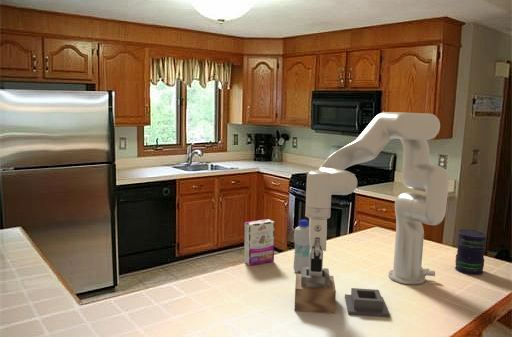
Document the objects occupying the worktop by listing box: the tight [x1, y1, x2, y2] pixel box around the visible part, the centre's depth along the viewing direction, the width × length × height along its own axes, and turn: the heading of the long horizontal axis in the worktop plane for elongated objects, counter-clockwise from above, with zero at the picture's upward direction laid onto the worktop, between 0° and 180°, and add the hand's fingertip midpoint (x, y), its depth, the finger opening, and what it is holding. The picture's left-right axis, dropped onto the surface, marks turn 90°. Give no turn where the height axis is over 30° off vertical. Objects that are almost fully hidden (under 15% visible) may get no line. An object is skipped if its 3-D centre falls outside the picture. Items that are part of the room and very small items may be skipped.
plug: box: [309, 250, 324, 276], centre depth 134 cm, size 4×4×12 cm
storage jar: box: [454, 229, 487, 276], centre depth 166 cm, size 10×10×15 cm
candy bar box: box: [243, 218, 275, 266], centre depth 170 cm, size 11×5×16 cm, turn 117°
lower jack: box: [344, 287, 391, 318], centre depth 134 cm, size 12×12×4 cm
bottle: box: [293, 219, 310, 274], centre depth 161 cm, size 7×7×20 cm
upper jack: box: [293, 267, 337, 314], centre depth 135 cm, size 12×12×10 cm
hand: (315, 265), depth 134 cm, fingers open, 9 cm apart
